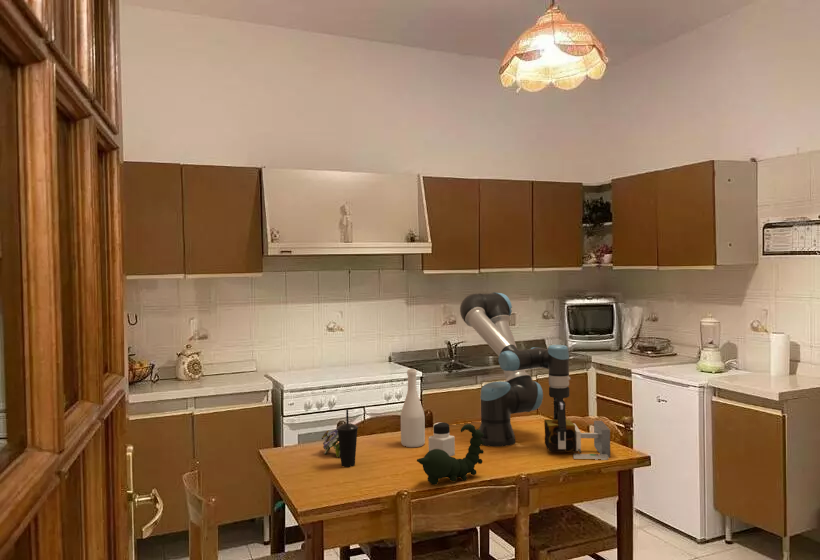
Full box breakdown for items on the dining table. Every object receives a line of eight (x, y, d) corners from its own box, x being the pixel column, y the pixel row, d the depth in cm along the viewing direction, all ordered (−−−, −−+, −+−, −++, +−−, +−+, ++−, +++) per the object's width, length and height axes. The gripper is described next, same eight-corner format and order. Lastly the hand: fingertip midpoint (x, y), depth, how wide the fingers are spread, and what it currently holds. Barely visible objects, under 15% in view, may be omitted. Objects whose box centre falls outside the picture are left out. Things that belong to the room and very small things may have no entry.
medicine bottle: (455, 455, 237) (454, 423, 237) (442, 459, 232) (442, 426, 232) (440, 451, 242) (440, 420, 242) (428, 455, 237) (427, 423, 236)
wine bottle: (429, 445, 251) (428, 369, 250) (409, 449, 245) (408, 372, 245) (416, 440, 259) (414, 366, 258) (396, 444, 253) (395, 369, 253)
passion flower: (327, 468, 241) (317, 439, 246) (353, 459, 245) (343, 430, 250) (329, 458, 232) (319, 428, 237) (357, 449, 236) (347, 420, 241)
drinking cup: (342, 469, 222) (341, 412, 221) (334, 463, 229) (333, 408, 228) (362, 466, 225) (361, 410, 225) (353, 460, 232) (353, 406, 232)
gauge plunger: (578, 453, 230) (578, 434, 230) (571, 441, 246) (570, 423, 246) (610, 453, 229) (610, 434, 229) (601, 441, 245) (601, 423, 245)
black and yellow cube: (576, 452, 234) (576, 425, 234) (549, 452, 235) (548, 425, 234) (570, 444, 244) (570, 418, 244) (544, 444, 245) (543, 419, 245)
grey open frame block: (574, 459, 229) (573, 432, 229) (566, 446, 246) (566, 420, 246) (612, 460, 228) (612, 432, 228) (602, 446, 245) (601, 420, 245)
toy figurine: (470, 475, 218) (407, 482, 206) (473, 420, 219) (411, 423, 206) (487, 483, 210) (422, 490, 198) (490, 426, 211) (426, 429, 198)
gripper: (573, 391, 228) (574, 453, 228) (565, 381, 250) (565, 437, 250) (552, 391, 228) (553, 453, 229) (545, 381, 251) (546, 436, 251)
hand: (560, 444), depth 239 cm, fingers closed on black and yellow cube, 10 cm apart
